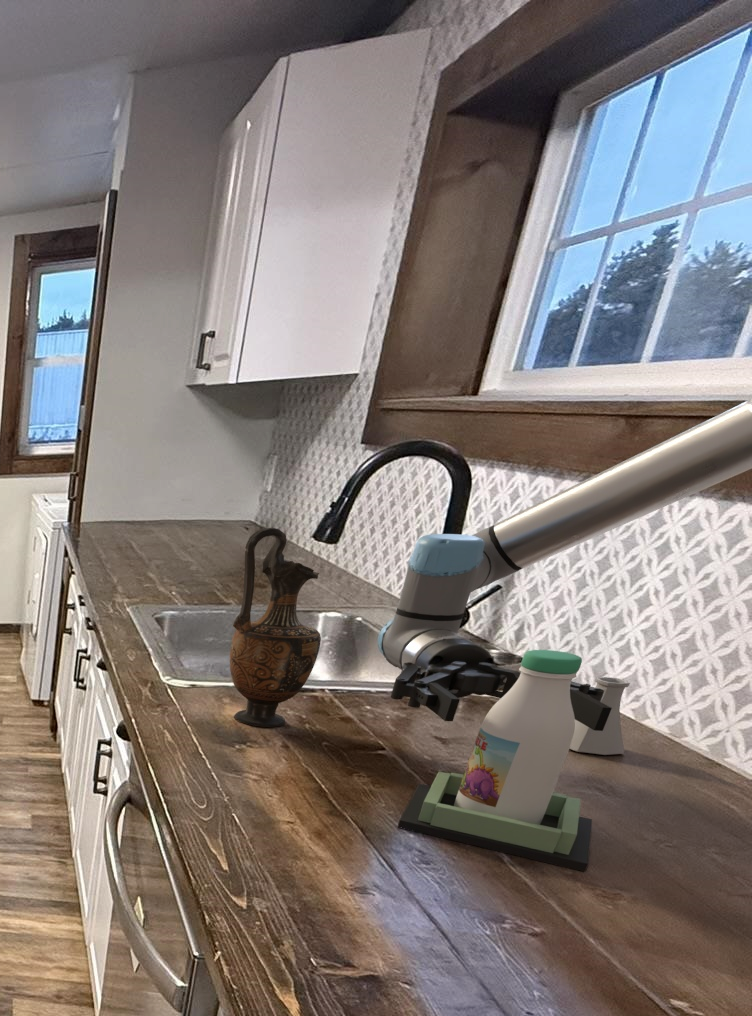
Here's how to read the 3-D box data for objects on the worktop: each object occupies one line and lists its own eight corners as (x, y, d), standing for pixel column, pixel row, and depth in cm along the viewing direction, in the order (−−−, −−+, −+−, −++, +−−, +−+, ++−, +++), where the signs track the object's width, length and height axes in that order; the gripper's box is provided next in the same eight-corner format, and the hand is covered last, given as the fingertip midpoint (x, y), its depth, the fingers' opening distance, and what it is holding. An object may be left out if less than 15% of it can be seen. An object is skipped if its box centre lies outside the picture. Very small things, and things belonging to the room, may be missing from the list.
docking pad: (589, 826, 96) (600, 799, 95) (584, 872, 87) (597, 842, 86) (416, 790, 107) (424, 765, 105) (397, 827, 98) (405, 800, 96)
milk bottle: (530, 812, 98) (592, 649, 90) (546, 839, 92) (614, 667, 84) (446, 800, 102) (499, 642, 94) (457, 825, 96) (514, 659, 88)
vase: (311, 734, 126) (361, 533, 114) (219, 728, 130) (259, 533, 118) (288, 710, 136) (333, 523, 125) (204, 705, 140) (240, 523, 128)
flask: (572, 755, 115) (599, 686, 111) (539, 737, 121) (563, 671, 118) (636, 758, 113) (665, 688, 109) (599, 739, 120) (625, 673, 116)
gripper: (553, 697, 109) (656, 755, 90) (331, 685, 117) (384, 736, 98) (574, 641, 106) (684, 690, 87) (345, 633, 114) (402, 676, 96)
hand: (526, 714), depth 93 cm, fingers open, 13 cm apart
